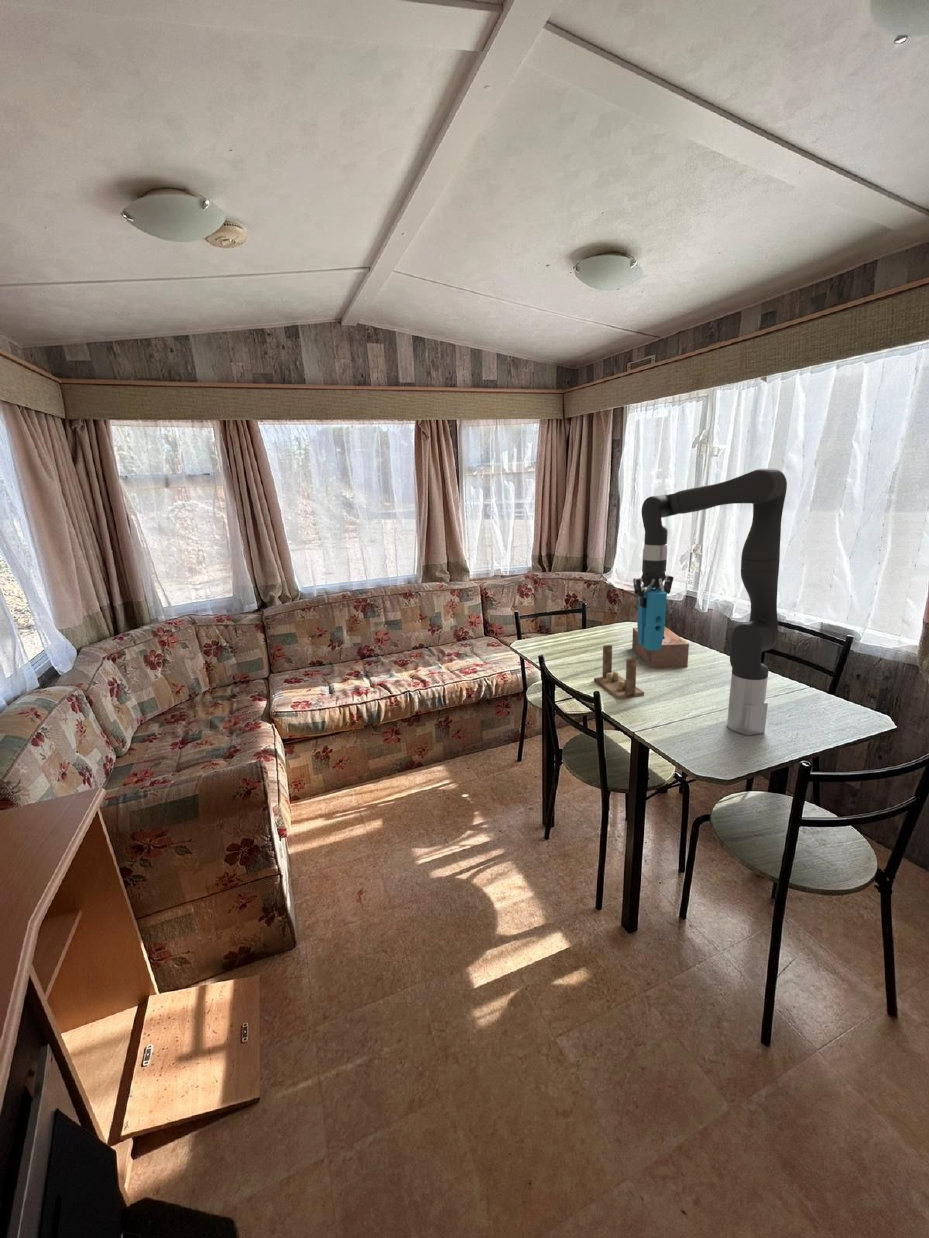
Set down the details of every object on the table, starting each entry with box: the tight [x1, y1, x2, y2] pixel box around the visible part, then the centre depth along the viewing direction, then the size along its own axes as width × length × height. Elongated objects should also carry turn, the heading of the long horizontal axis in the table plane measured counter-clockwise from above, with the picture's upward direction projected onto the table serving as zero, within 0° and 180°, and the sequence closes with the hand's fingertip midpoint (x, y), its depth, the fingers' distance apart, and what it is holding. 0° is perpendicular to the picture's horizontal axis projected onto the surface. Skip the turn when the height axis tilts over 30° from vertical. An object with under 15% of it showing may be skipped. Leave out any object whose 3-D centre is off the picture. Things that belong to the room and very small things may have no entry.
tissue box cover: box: [631, 626, 690, 669], centre depth 211 cm, size 26×14×10 cm, turn 179°
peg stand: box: [593, 644, 645, 700], centre depth 181 cm, size 10×18×14 cm, turn 13°
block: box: [636, 585, 668, 650], centre depth 168 cm, size 12×5×20 cm, turn 3°
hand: (651, 607), depth 167 cm, fingers closed on block, 5 cm apart
